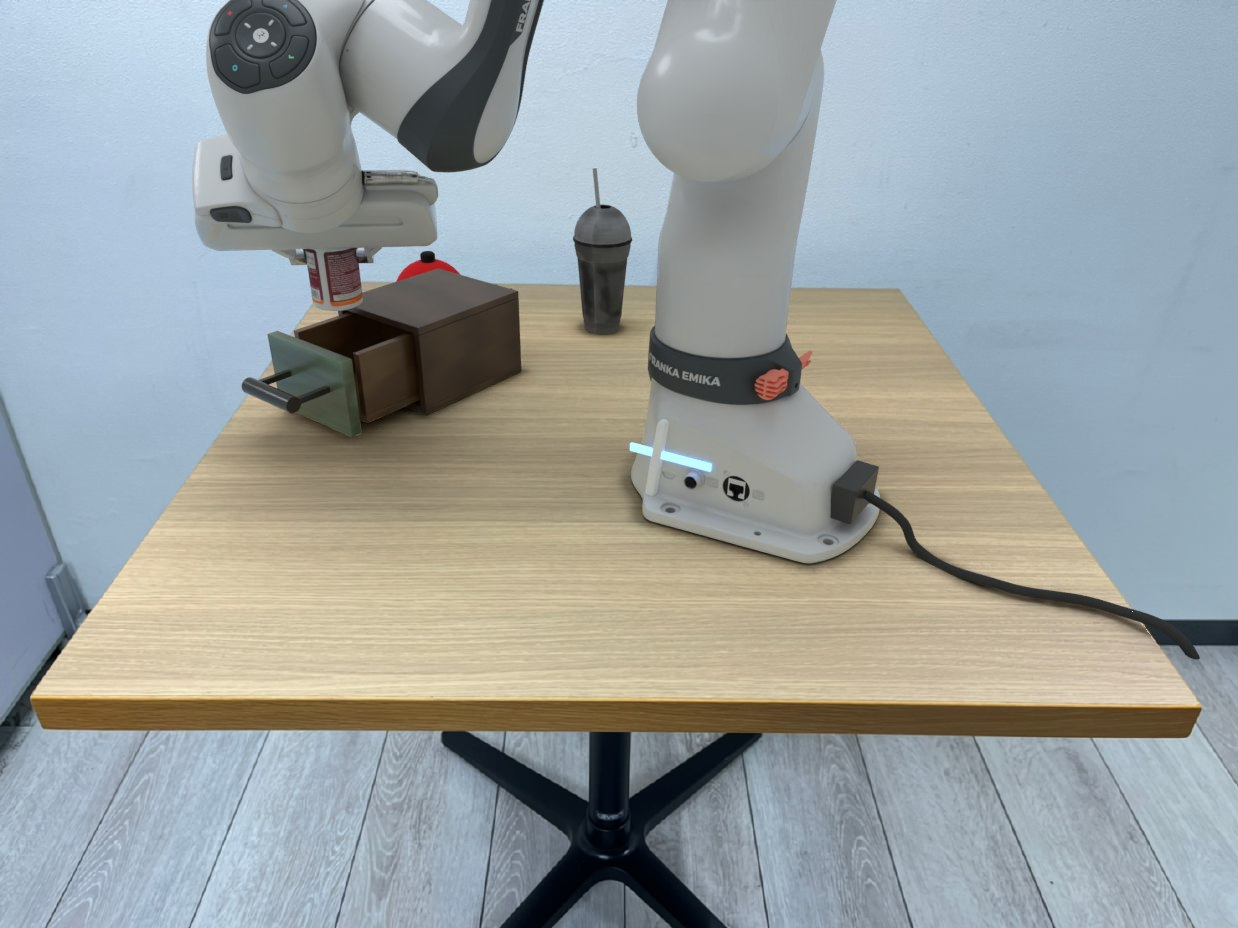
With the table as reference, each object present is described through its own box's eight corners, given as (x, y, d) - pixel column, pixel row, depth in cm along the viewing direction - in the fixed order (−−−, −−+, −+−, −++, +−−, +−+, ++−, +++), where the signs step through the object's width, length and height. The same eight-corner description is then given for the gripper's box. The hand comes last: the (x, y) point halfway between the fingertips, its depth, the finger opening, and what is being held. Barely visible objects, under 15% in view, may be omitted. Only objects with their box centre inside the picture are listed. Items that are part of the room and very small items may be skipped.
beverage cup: (641, 331, 116) (646, 170, 106) (593, 342, 112) (594, 176, 103) (609, 314, 121) (611, 159, 111) (562, 324, 118) (560, 165, 108)
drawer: (308, 457, 84) (295, 380, 80) (236, 422, 90) (221, 348, 86) (453, 391, 97) (448, 322, 93) (382, 364, 103) (374, 298, 99)
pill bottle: (370, 297, 91) (360, 212, 86) (353, 313, 86) (342, 225, 82) (323, 294, 91) (312, 209, 87) (304, 310, 87) (291, 222, 83)
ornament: (456, 313, 121) (450, 238, 116) (480, 336, 114) (475, 257, 109) (389, 323, 117) (380, 246, 112) (409, 347, 110) (401, 267, 105)
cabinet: (426, 415, 94) (418, 328, 89) (347, 383, 101) (336, 300, 96) (521, 371, 104) (518, 290, 100) (444, 345, 111) (438, 268, 106)
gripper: (434, 140, 76) (441, 225, 90) (174, 141, 73) (221, 230, 86) (438, 207, 75) (445, 284, 88) (173, 211, 71) (221, 291, 85)
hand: (332, 257), depth 87 cm, fingers closed on pill bottle, 5 cm apart
